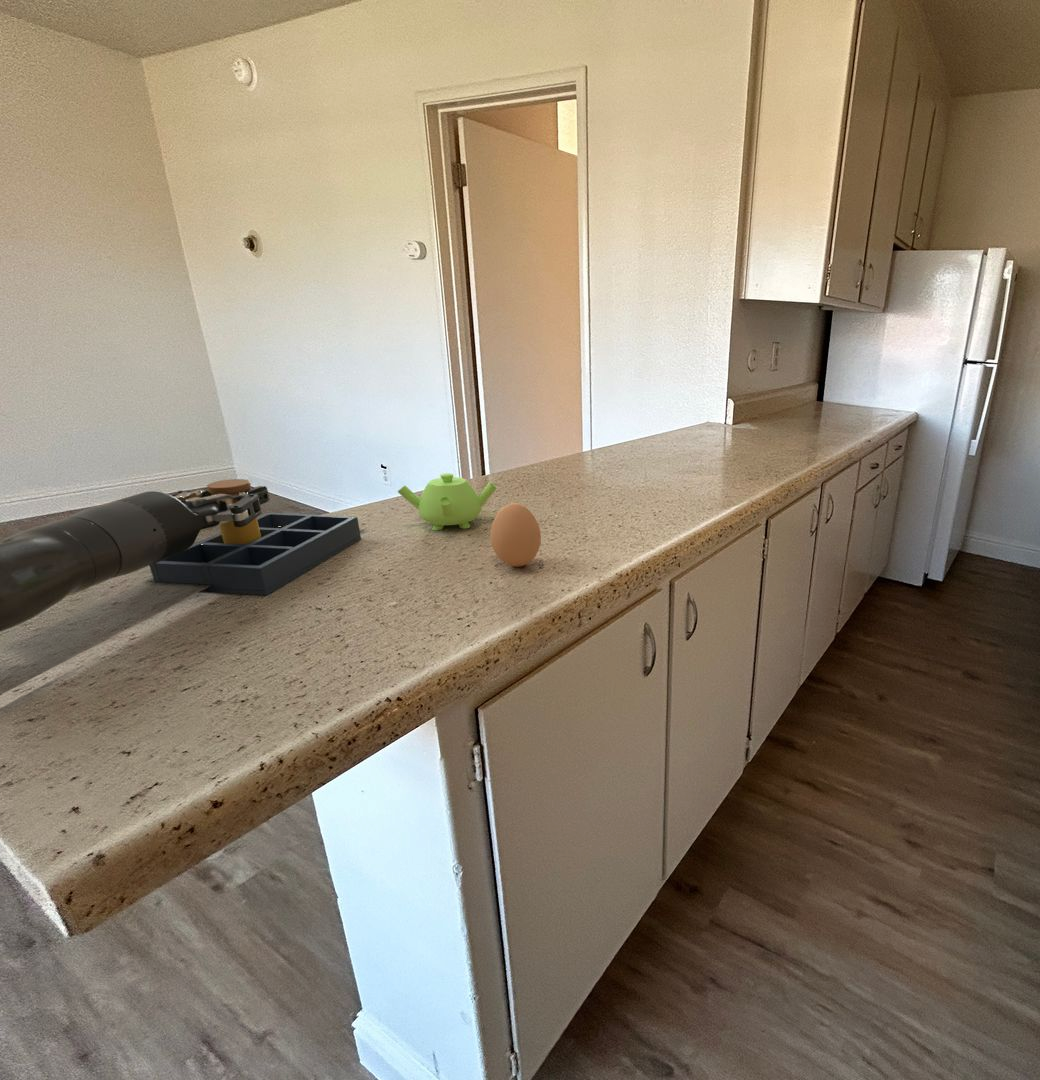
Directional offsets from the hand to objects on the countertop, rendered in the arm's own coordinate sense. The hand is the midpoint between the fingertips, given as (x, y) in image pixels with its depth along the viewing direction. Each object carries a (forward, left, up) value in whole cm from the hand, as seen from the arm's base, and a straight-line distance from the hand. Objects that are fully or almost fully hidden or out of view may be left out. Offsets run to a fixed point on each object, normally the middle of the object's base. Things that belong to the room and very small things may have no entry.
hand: (248, 492), depth 80 cm
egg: (+36, 0, -9) cm, 37 cm away
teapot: (+20, +15, -9) cm, 27 cm away
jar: (0, -3, -6) cm, 7 cm away
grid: (+3, -3, -9) cm, 10 cm away
